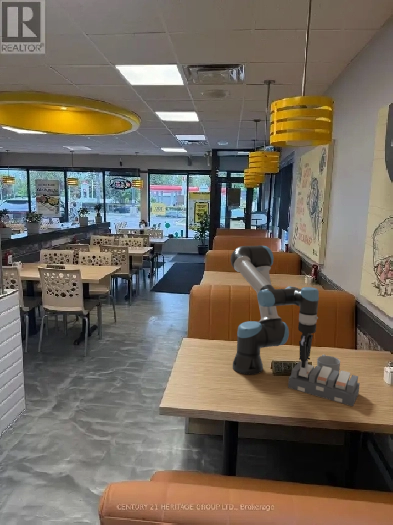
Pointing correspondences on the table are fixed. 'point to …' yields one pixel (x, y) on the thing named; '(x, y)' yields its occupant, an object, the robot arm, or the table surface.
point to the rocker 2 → (324, 375)
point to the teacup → (329, 362)
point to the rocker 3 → (342, 380)
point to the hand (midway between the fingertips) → (303, 373)
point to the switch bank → (324, 386)
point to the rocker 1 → (309, 370)
